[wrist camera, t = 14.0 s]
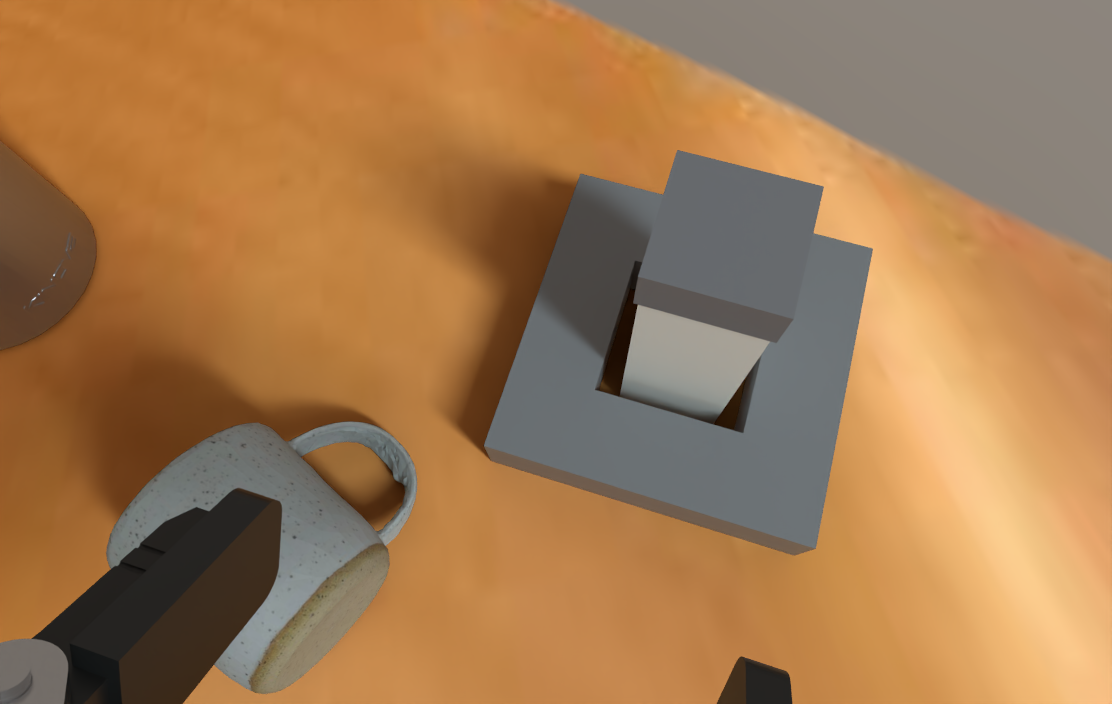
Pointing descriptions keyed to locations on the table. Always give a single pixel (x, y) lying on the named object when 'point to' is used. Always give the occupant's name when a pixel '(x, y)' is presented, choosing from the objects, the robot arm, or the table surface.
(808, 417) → the socket
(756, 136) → the table surface
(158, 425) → the table surface
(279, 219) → the table surface
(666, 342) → the plug
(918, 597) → the table surface
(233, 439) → the ceramic mug
